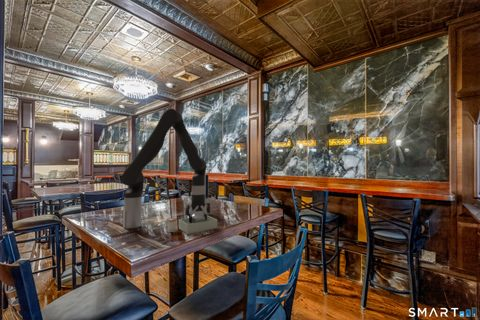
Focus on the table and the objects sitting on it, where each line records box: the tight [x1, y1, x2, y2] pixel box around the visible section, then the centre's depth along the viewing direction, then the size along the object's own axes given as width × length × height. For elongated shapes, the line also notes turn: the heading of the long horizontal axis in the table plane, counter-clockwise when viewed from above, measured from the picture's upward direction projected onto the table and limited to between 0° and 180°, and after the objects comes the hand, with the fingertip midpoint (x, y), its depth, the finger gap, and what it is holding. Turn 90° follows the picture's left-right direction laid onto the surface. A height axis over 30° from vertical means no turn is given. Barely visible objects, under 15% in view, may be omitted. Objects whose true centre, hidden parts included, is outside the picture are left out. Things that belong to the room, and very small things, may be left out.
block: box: [191, 215, 205, 224], centre depth 124 cm, size 6×6×6 cm
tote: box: [178, 215, 219, 235], centre depth 124 cm, size 18×13×5 cm
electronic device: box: [193, 173, 210, 216], centre depth 157 cm, size 12×8×30 cm, turn 168°
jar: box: [166, 217, 178, 233], centre depth 118 cm, size 5×5×7 cm
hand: (197, 221), depth 124 cm, fingers open, 8 cm apart
